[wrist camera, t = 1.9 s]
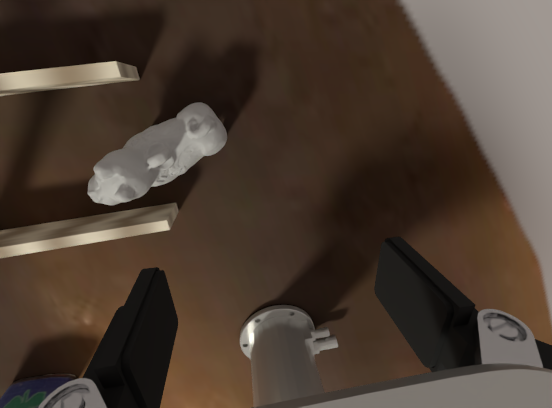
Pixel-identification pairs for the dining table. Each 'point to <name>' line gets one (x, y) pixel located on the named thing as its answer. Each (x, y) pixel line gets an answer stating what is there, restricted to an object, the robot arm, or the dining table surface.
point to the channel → (91, 226)
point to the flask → (33, 390)
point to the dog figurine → (157, 155)
